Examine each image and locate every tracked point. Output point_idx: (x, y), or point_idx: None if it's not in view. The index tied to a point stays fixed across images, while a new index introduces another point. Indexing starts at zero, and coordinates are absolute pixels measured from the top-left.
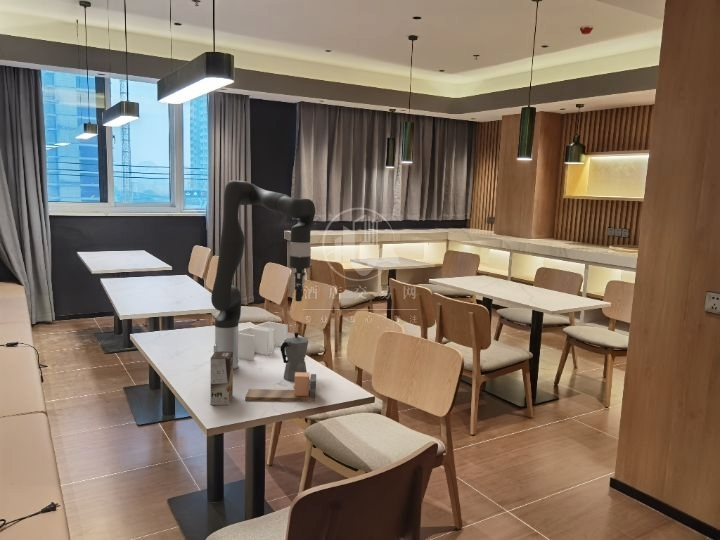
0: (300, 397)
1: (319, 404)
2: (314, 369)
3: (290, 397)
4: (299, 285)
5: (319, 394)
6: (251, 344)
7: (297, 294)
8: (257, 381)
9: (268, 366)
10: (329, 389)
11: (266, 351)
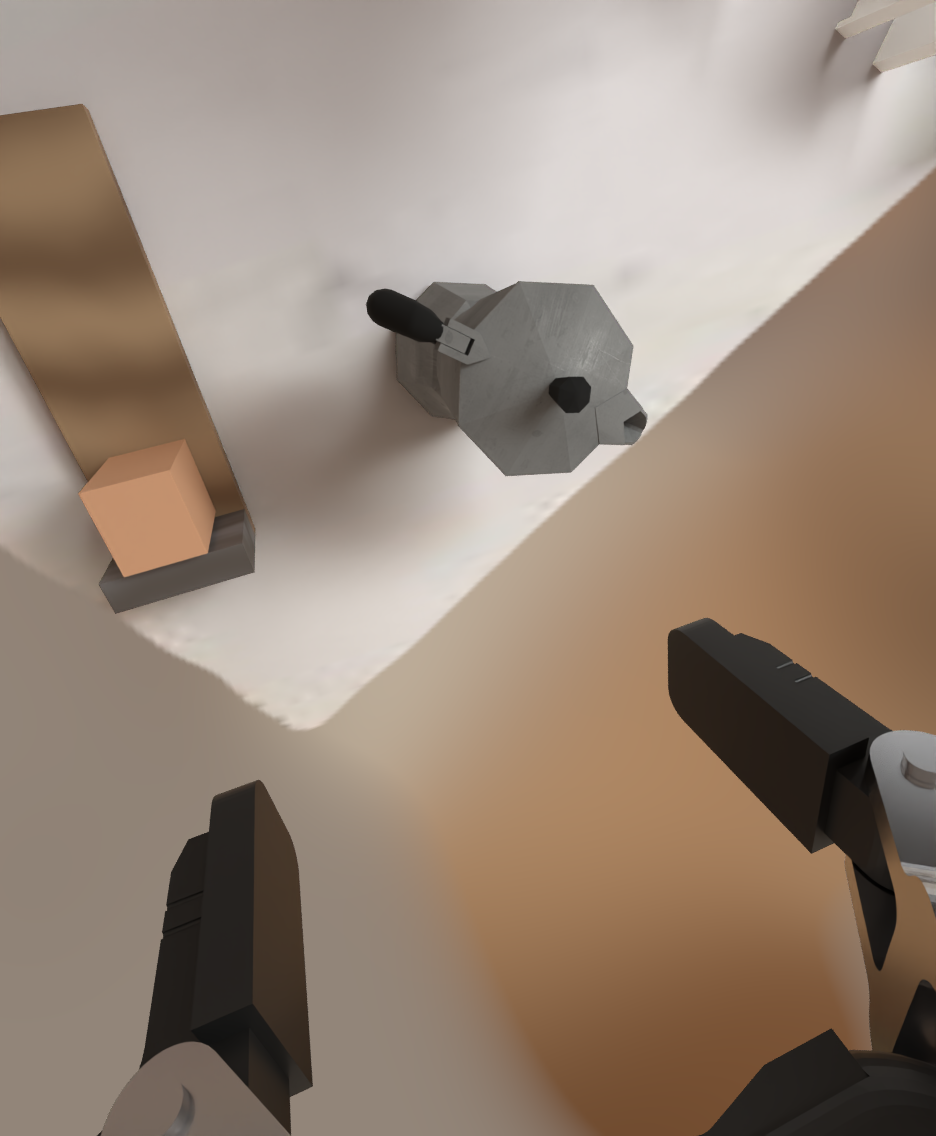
0: None
1: None
2: None
3: (73, 445)
4: (862, 819)
5: None
6: None
7: (164, 985)
8: (328, 113)
9: (626, 109)
10: (336, 568)
11: (859, 14)
